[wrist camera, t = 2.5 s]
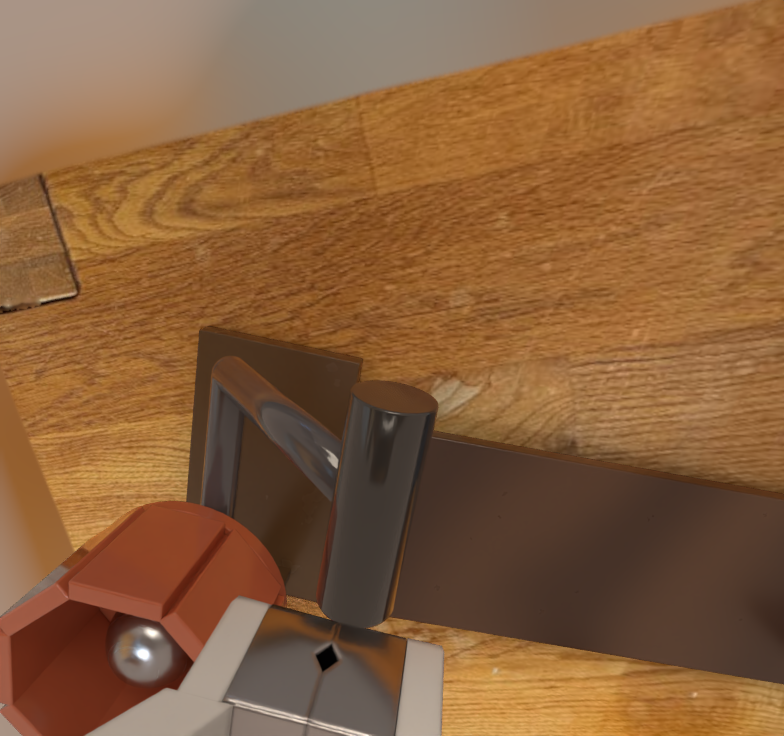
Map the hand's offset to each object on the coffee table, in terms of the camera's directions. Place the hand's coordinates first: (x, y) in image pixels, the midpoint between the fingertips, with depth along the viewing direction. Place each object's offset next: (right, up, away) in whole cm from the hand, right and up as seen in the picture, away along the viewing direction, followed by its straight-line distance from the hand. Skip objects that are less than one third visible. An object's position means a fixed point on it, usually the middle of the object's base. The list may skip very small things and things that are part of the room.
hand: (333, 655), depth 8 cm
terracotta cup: (-4, -1, +11) cm, 12 cm away
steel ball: (-7, -4, +9) cm, 12 cm away
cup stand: (-5, -1, +20) cm, 21 cm away
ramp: (+12, -5, +19) cm, 23 cm away
